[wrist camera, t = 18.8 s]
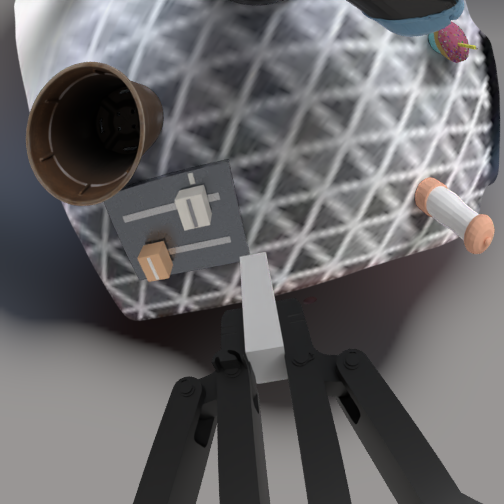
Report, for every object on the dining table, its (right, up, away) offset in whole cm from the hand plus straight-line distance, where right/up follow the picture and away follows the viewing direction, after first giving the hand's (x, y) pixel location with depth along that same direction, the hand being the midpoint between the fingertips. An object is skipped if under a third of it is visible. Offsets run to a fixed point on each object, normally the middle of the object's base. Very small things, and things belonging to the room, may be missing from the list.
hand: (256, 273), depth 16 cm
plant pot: (-20, +22, +19) cm, 35 cm away
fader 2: (-9, +9, +25) cm, 28 cm away
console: (-13, +6, +30) cm, 33 cm away
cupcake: (+34, +40, +12) cm, 54 cm away
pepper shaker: (+35, +13, +30) cm, 48 cm away
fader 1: (-17, +1, +30) cm, 35 cm away
